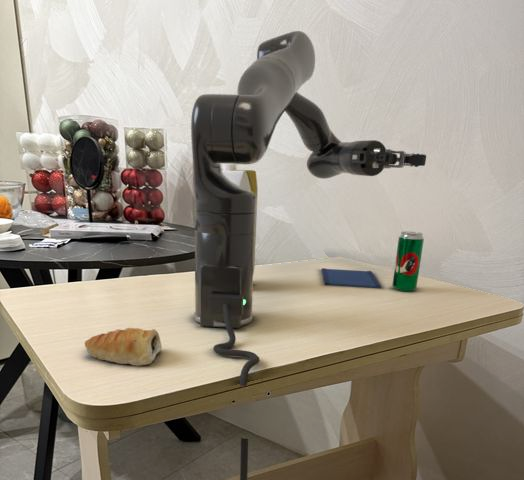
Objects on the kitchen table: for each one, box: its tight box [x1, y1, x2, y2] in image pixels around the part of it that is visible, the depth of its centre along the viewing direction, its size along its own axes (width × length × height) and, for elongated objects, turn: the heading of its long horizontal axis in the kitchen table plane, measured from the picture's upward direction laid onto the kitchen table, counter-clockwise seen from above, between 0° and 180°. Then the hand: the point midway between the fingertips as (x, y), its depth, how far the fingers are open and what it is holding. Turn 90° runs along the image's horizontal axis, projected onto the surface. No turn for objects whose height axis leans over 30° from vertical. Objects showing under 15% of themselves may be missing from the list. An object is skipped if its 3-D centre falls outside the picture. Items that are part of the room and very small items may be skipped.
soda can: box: [391, 230, 425, 293], centre depth 110 cm, size 5×5×12 cm
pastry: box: [84, 327, 162, 367], centre depth 67 cm, size 9×7×4 cm
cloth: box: [321, 267, 382, 289], centre depth 119 cm, size 16×12×1 cm
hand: (408, 159), depth 106 cm, fingers open, 8 cm apart
